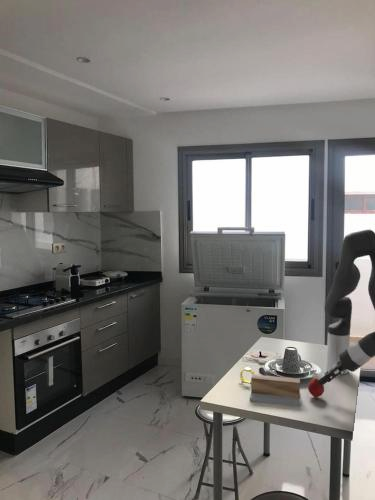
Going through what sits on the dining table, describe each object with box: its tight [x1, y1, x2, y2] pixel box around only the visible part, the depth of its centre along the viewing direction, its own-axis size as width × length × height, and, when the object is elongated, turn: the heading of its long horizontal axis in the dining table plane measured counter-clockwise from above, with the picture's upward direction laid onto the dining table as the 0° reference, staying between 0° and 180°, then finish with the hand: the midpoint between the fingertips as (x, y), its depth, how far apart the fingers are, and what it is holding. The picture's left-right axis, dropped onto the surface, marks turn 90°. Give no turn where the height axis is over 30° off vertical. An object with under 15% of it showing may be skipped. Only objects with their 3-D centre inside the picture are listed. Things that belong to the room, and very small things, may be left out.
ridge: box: [250, 373, 301, 398], centre depth 164 cm, size 4×18×6 cm, turn 75°
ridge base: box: [249, 392, 300, 407], centre depth 164 cm, size 12×18×1 cm, turn 75°
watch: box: [239, 366, 256, 384], centre depth 177 cm, size 6×3×6 cm, turn 61°
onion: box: [307, 376, 325, 399], centre depth 163 cm, size 6×6×8 cm
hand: (323, 379), depth 161 cm, fingers open, 8 cm apart
